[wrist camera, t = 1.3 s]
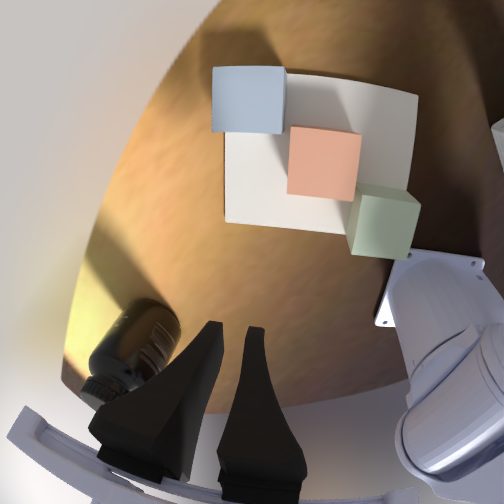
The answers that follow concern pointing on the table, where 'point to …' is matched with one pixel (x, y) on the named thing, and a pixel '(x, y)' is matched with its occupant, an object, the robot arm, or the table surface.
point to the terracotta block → (323, 162)
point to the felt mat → (329, 116)
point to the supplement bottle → (131, 352)
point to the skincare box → (499, 139)
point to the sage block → (382, 222)
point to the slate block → (249, 99)
